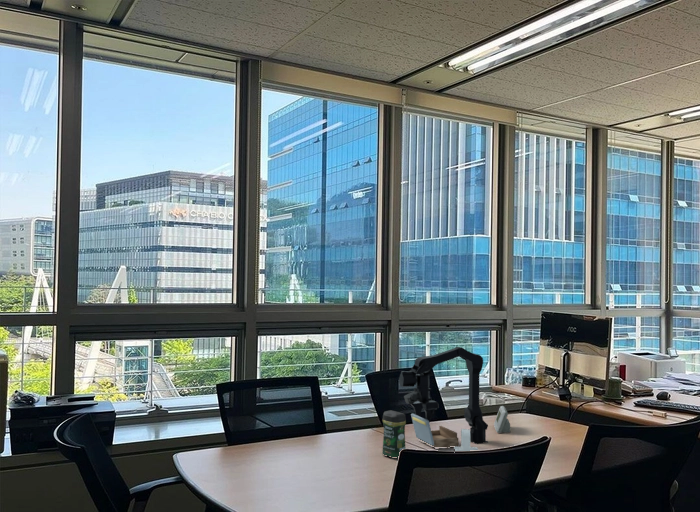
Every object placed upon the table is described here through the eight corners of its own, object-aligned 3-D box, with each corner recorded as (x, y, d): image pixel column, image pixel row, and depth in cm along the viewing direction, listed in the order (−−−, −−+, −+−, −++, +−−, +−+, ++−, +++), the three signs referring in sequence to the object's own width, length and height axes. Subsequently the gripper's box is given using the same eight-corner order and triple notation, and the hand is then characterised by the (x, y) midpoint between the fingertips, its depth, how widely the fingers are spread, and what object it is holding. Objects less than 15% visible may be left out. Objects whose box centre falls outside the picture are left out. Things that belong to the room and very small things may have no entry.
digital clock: (494, 425, 311) (494, 404, 311) (512, 427, 308) (512, 405, 308) (489, 433, 296) (489, 410, 296) (509, 434, 293) (509, 412, 293)
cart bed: (440, 438, 285) (440, 425, 285) (458, 447, 270) (458, 433, 270) (418, 440, 281) (418, 427, 281) (435, 449, 266) (435, 435, 266)
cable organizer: (453, 451, 264) (453, 427, 265) (477, 451, 263) (477, 428, 264) (454, 454, 259) (454, 430, 259) (478, 455, 258) (478, 431, 258)
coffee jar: (379, 455, 257) (379, 410, 257) (392, 452, 262) (393, 408, 262) (395, 460, 249) (395, 414, 250) (409, 457, 254) (409, 411, 255)
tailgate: (418, 436, 280) (412, 413, 280) (434, 444, 266) (428, 420, 266) (415, 437, 280) (410, 414, 279) (431, 445, 266) (426, 421, 265)
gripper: (397, 383, 279) (397, 418, 279) (416, 390, 262) (416, 427, 261) (419, 382, 283) (419, 416, 283) (439, 389, 266) (439, 425, 265)
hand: (422, 421), depth 273 cm, fingers open, 9 cm apart
